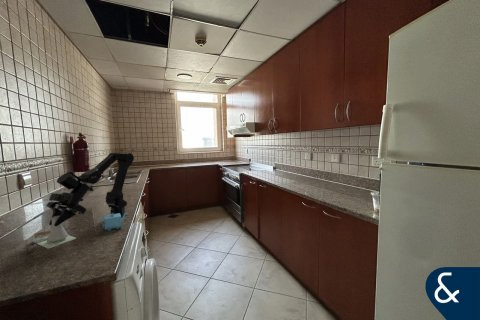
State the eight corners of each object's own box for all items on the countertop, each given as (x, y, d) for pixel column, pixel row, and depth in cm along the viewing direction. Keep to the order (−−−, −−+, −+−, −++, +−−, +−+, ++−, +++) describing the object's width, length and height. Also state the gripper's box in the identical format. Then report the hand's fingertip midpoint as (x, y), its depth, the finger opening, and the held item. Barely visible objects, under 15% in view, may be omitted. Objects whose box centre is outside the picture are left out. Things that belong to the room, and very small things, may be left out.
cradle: (59, 232, 100) (59, 226, 100) (63, 234, 98) (63, 228, 98) (32, 241, 91) (31, 235, 91) (35, 243, 89) (35, 236, 89)
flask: (63, 240, 89) (61, 218, 88) (42, 243, 86) (40, 221, 85) (71, 233, 95) (69, 213, 95) (52, 236, 93) (49, 215, 92)
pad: (65, 234, 97) (65, 234, 97) (76, 238, 93) (76, 237, 93) (37, 244, 89) (37, 243, 88) (48, 248, 84) (48, 247, 84)
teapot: (127, 223, 110) (127, 209, 110) (129, 226, 106) (128, 212, 105) (101, 229, 104) (100, 214, 103) (101, 233, 99) (100, 217, 98)
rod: (59, 229, 99) (59, 226, 99) (60, 229, 98) (60, 226, 98) (34, 236, 91) (33, 233, 91) (35, 237, 90) (35, 234, 90)
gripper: (48, 184, 95) (20, 215, 86) (76, 186, 90) (49, 219, 80) (68, 196, 104) (45, 226, 94) (95, 198, 98) (73, 230, 88)
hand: (52, 225), depth 89 cm, fingers closed on flask, 3 cm apart
